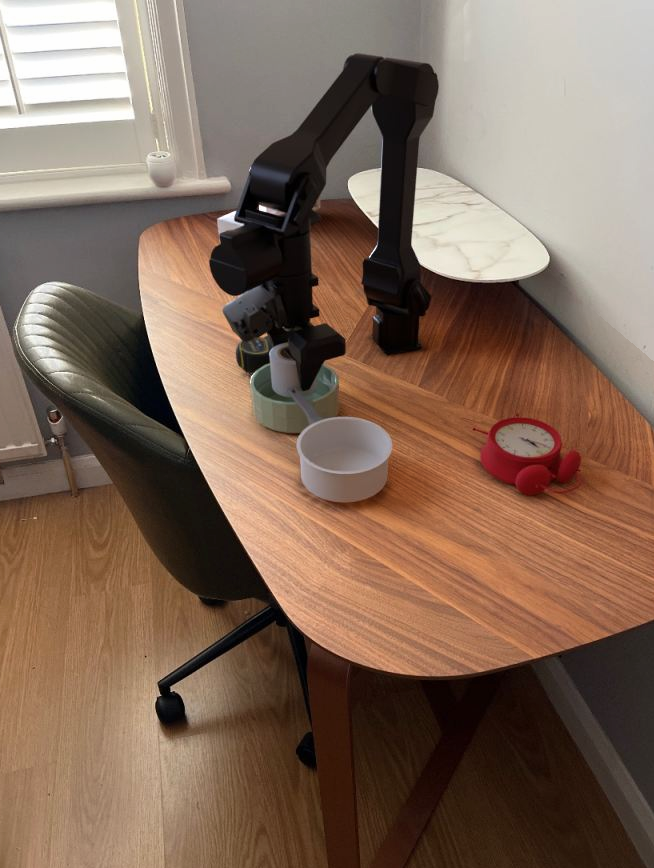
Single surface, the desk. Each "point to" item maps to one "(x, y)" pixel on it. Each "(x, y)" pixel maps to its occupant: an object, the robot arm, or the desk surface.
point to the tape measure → (253, 354)
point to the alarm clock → (527, 455)
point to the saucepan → (341, 455)
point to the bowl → (292, 401)
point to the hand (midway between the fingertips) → (294, 379)
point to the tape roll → (285, 372)
